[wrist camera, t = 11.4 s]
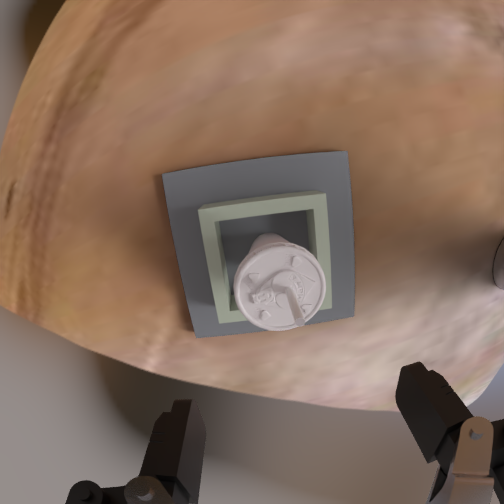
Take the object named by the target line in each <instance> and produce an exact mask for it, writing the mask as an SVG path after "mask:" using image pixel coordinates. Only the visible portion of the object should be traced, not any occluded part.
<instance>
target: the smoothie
mask: <svg viewBox="0 0 504 504" xmlns="http://www.w3.org/2000/svg"><path fill="white" fill-rule="evenodd" d="M233 288H234V296H235V301H236V304H237V307H238V309H239V310H240V312H241V313H242V315H243V316H244V317H245V318H246V319H247V320H248V321H249V322H251V323H252V324H254V325H256V326H258V327H260V328H263V329H267V330H272V331H283V330H289V329H293V328H295V327H298V326H299V327H300V326H303V325H304V324H305V322H307V321H308V320H309V319H311V318H312V317H313V316H314V315H315V314H316V312H317V311H318V310H319V308H320V307H321V305H322V303H323V300H324V297H325V293H326V279H325V275H324V272H323V270H322V268H321V266H320V264H319V262H318V261H317V260H316V258H315V257H314V255H313V254H311V253H310V252H309V251H307V250H306V249H305V248H303V247H301V246H298V245H296V244H293V243H290V242H288V241H287V240H285V239H284V238H283V237H281V236H280V235H278V234H275V233H265V234H262V235H260V236H258V237H257V238H256V239H255V240H254V242H253V244H252V246H251V249H250V251H249V253H248V255H247V256H246V257H245V258H244V260H243V261H242V262H241V263H240V265H239V267H238V269H237V271H236V274H235V277H234V286H233Z"/></svg>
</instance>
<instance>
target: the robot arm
mask: <svg viewBox="0 0 504 504" xmlns="http://www.w3.org/2000/svg"><path fill="white" fill-rule="evenodd" d="M493 276H494V281H495V284H496V285H497V286H498V287H499V288H501V289H503V290H504V239H503V241H502V242H501V244H500V246H499V248H498V251H497V254H496V257H495V261H494V267H493ZM395 397H396V403H397V406H398V408H399V410H400V412H401V414H402V415H403V417H404V419H405V421H406V423H407V425H408V427H409V429H410V430H411V432H412V434H413V436H414V438H415V440H416V442H417V444H418V446H419V447H420V449H421V452H422V453H423V455H424V457H425V459H426V461H427V463H430V462H433V461H435V460H438V462H439V465H438V468H437V471H436V474H435V477H434V481H433V484H432V487H431V490H430V493H429V496H428V498H427V501H426V504H490V502H491V497H492V492H493V489H494V491H495V493H496V495H497V497H498V499H499V501H500V504H504V419H502V420H498V421H493V422H490V421H489V420H487V419H485V418H483V417H474V416H473V415H472V414H471V413H470V411H469V410H468V409H467V407H466V406H465V405H464V403H463V402H462V401H461V399H460V398H459V397H458V395H457V394H456V393H455V392H454V390H453V389H452V388H451V386H449V384H448V382H447V381H446V380H445V379H444V377H443V376H442V375H440V374H439V373H437V372H435V371H433V370H430V371H428V370H427V369H426V368H425V366H424V365H423V364H422V363H421V362H416V363H413V364H410V365H406V366H403V367H402V368H401V371H400V376H399V381H398V385H397V389H396V395H395ZM205 441H206V428H205V424H204V421H203V418H202V416H201V413H200V410H199V408H198V405H197V403H196V401H195V400H194V399H183V400H182V399H181V400H175V401H174V403H173V406H172V410H171V412H163V413H162V414H161V416H160V417H159V418H158V419H157V420H156V422H155V424H154V428H153V431H152V434H151V437H150V443H149V444H148V447H147V450H146V454H145V457H144V461H143V464H142V467H141V471H140V474H139V475H138V477H135V478H133V479H132V480H130V481H129V482H128V483H127V484H126V485H125V486H120V487H110V488H100V487H99V486H98V485H97V484H96V483H94V482H92V481H87V480H86V481H80V482H78V483H76V484H74V485H73V487H72V488H71V489H70V492H69V495H68V497H67V500H66V503H65V504H198V497H199V489H200V481H201V473H202V465H203V457H204V449H205Z"/></svg>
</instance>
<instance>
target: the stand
mask: <svg viewBox="0 0 504 504" xmlns="http://www.w3.org/2000/svg"><path fill="white" fill-rule="evenodd" d="M162 178H163V184H164V191H165V197H166V203H167V208H168V214H169V219H170V225H171V230H172V235H173V240H174V245H175V250H176V255H177V260H178V265H179V269H180V274H181V278H182V283H183V287H184V291H185V296H186V300H187V304H188V308H189V312H190V316H191V320H192V324H193V328H194V332H195V336H196V338H203V337H214V336H225V335H234V334H243V333H252V332H260V331H268V330H267V329H263V328H260V327H258V326H256V325H254V324H252V323H251V322H249V321H248V320H247V319H246V318H245V317H244V316H243V315H242V313H241V312H240V310H239V309H238V307H237V304H236V301H235V296H234V288H233V286H234V277H235V274H236V271H237V269H238V267H239V265H240V263H241V262H242V261H243V260H244V258H245V257H246V256H247V255H248V253H249V251H250V249H251V246H252V244H253V242H254V240H255V239H256V238H257V237H258V236H260V235H262V234H265V233H275V234H278V235H280V236H281V237H283V238H284V239H285V240H287V241H288V242H290V243H293V244H296V245H298V246H301V247H303V248H305V249H306V250H307V251H309V252H310V253H311V254H313V255H314V257H315V258H316V260H317V261H318V262H319V264H320V266H321V268H322V270H323V272H324V275H325V279H326V293H325V297H324V300H323V303H322V305H321V307H320V308H319V310H318V311H317V312H316V314H315V315H314V316H313V317H312V318H311V319H309V320H308V321H307V322H305V324H304V325H309V324H315V323H321V322H327V321H332V320H338V319H343V318H349V317H354V304H355V257H354V227H353V209H352V195H351V182H350V171H349V162H348V153H347V151H335V152H320V153H307V154H295V155H285V156H275V157H267V158H258V159H250V160H243V161H235V162H228V163H222V164H215V165H209V166H203V167H197V168H191V169H186V170H180V171H175V172H170V173H165V174H162Z"/></svg>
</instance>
